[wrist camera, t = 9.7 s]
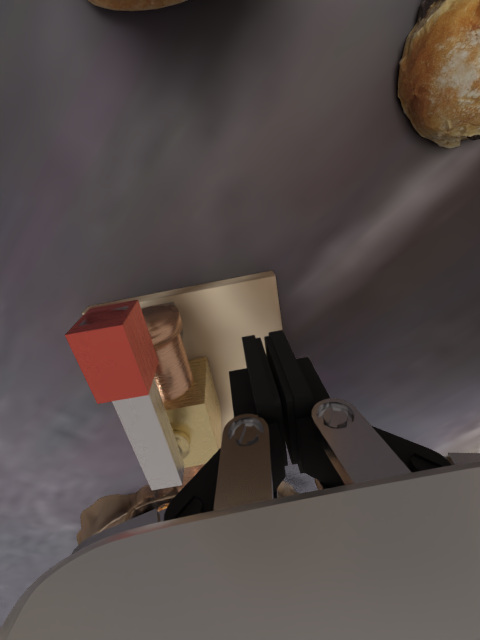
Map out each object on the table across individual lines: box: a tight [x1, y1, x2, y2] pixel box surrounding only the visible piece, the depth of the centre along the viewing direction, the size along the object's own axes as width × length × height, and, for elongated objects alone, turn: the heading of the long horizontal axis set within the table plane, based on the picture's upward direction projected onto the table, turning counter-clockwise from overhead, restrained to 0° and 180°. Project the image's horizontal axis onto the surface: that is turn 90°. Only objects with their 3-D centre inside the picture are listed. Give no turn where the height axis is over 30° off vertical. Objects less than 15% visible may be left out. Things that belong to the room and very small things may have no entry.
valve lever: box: [65, 300, 185, 490], centre depth 18 cm, size 13×3×4 cm, turn 9°
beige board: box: [82, 271, 283, 443], centre depth 29 cm, size 16×18×2 cm
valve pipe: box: [141, 302, 221, 492], centre depth 25 cm, size 6×18×7 cm, turn 10°
